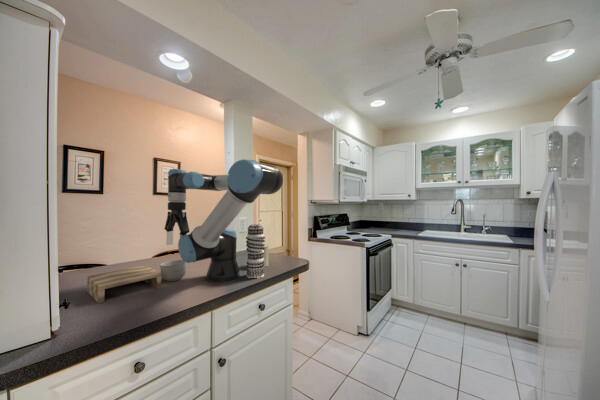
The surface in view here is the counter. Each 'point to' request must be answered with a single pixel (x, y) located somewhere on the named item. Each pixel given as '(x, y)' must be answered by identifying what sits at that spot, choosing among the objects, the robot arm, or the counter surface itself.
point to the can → (265, 255)
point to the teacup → (173, 270)
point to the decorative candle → (255, 251)
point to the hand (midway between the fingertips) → (176, 246)
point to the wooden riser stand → (121, 280)
